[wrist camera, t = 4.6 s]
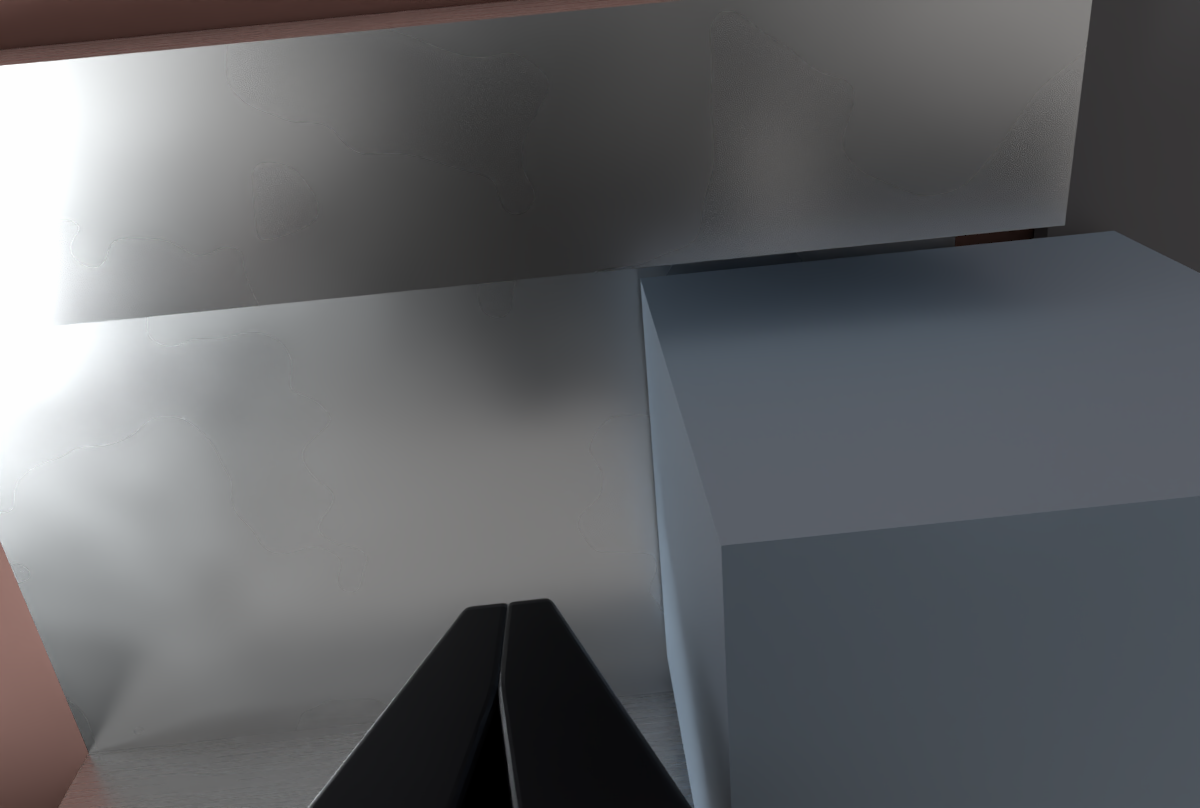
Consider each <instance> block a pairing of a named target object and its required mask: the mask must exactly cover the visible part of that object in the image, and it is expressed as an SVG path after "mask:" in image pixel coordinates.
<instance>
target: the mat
mask: <svg viewBox="0 0 1200 808" xmlns="http://www.w3.org/2000/svg"><path fill="white" fill-rule="evenodd" d="M1106 231H1116V232H1118V233H1120V234H1122V235H1124V236H1126V237H1128V238H1130V239H1132V240H1134V241H1136V242H1138V243H1140V244H1142V245H1144V246H1146V247H1148V248H1150V249H1152V250H1154V251H1156V252H1158V253H1160V254H1162V255H1164V256H1166V257H1168V258H1170V259H1172V260H1174V261H1176V262H1179V263H1181V264H1183V265H1185V266H1187V267H1189V268H1191V269H1193V270H1195V271H1197V272H1199V273H1200V0H1092V6H1091V14H1090V23H1089V31H1088V39H1087V47H1086V55H1085V63H1084V72H1083V80H1082V88H1081V96H1080V104H1079V112H1078V121H1077V129H1076V137H1075V145H1074V153H1073V161H1072V170H1071V178H1070V186H1069V194H1068V202H1067V210H1066V219H1065V225H1062V226H1052V227H1042V228H1035V230H1034V239H1037V238H1047V237H1057V236H1067V235H1076V234H1086V233H1096V232H1106Z"/></svg>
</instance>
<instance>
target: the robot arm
mask: <svg viewBox="0 0 1200 808" xmlns="http://www.w3.org/2000/svg"><path fill="white" fill-rule="evenodd" d="M308 808H692V807H691V806H690V804H689V803H688V801H687V800H686V798H685V797H684V795H683V794H682V792H681V791H680V789H679V788H678V786H677V785H676V783H675V782H674V780H673V779H672V778H671V776H670V775H669V773H668V772H667V770H666V769H665V767H664V766H663V764H662V763H661V761H660V760H659V758H658V757H657V755H656V754H655V752H654V751H653V749H652V748H651V746H650V745H649V743H648V742H647V740H646V739H645V737H644V736H643V734H642V733H641V731H640V730H639V728H638V727H637V725H636V724H635V722H634V721H633V719H632V718H631V716H630V715H629V714H628V712H627V711H626V709H625V708H624V706H623V705H622V703H621V702H620V700H619V699H618V697H617V696H616V694H615V693H614V691H613V690H612V688H611V687H610V685H609V684H608V682H607V681H606V679H605V678H604V676H603V675H602V673H601V672H600V670H599V669H598V667H597V666H596V664H595V663H594V661H593V660H592V658H591V657H590V655H589V654H588V653H587V651H586V650H585V648H584V647H583V645H582V644H581V642H580V641H579V639H578V638H577V636H576V635H575V633H574V632H573V630H572V629H571V627H570V626H569V624H568V623H567V621H566V620H565V618H564V617H563V615H562V614H561V612H560V611H559V609H558V608H557V606H556V605H555V604H554V602H553V601H552V600H550V599H548V598H541V599H532V600H523V601H514V602H511V603H510V604H507V603H496V604H487V605H478V606H470V607H467V608H465V609H464V610H463V611H462V612H461V613H460V614H459V616H458V617H457V618H456V619H455V621H454V622H453V623H452V625H451V626H450V627H449V628H448V630H447V631H446V632H445V633H444V635H443V636H442V637H441V639H440V640H439V641H438V642H437V644H436V645H435V646H434V647H433V649H432V650H431V651H430V653H429V654H428V655H427V656H426V658H425V659H424V660H423V661H422V663H421V664H420V665H419V667H418V668H417V669H416V670H415V672H414V673H413V674H412V675H411V677H410V678H409V679H408V681H407V682H406V683H405V684H404V686H403V687H402V688H401V689H400V691H399V692H398V693H397V694H396V696H395V697H394V698H393V700H392V701H391V702H390V703H389V705H388V706H387V707H386V708H385V710H384V711H383V712H382V714H381V715H380V716H379V717H378V719H377V720H376V721H375V722H374V724H373V725H372V726H371V728H370V729H369V730H368V731H367V733H366V734H365V735H364V736H363V738H362V739H361V740H360V742H359V743H358V744H357V745H356V747H355V748H354V749H353V750H352V752H351V753H350V754H349V756H348V757H347V758H346V759H345V761H344V762H343V763H342V764H341V766H340V767H339V768H338V769H337V771H336V772H335V773H334V775H333V776H332V777H331V778H330V780H329V781H328V782H327V783H326V785H325V786H324V787H323V789H322V790H321V791H320V792H319V794H318V795H317V796H316V797H315V799H314V800H313V801H312V803H311V804H310V805H309V806H308Z"/></svg>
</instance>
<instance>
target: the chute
mask: <svg viewBox="0 0 1200 808" xmlns="http://www.w3.org/2000/svg"><path fill="white" fill-rule="evenodd" d="M1091 6H1092V0H513V1H503V2H493V3H482V4H472V5H461V6H451V7H441V8H430V9H420V10H409V11H399V12H389V13H378V14H368V15H357V16H347V17H336V18H326V19H316V20H305V21H295V22H284V23H274V24H264V25H253V26H243V27H232V28H222V29H212V30H201V31H191V32H180V33H170V34H159V35H149V36H139V37H128V38H118V39H107V40H97V41H87V42H76V43H66V44H55V45H45V46H35V47H24V48H14V49H3V50H0V542H1V544H2V546H3V549H4V551H5V554H6V556H7V558H8V561H9V563H10V566H11V568H12V570H13V573H14V575H15V577H16V580H17V582H18V585H19V587H20V589H21V592H22V594H23V597H24V599H25V601H26V604H27V606H28V609H29V611H30V613H31V616H32V618H33V621H34V623H35V625H36V628H37V630H38V632H39V635H40V637H41V640H42V642H43V644H44V647H45V649H46V652H47V654H48V656H49V659H50V661H51V664H52V666H53V668H54V671H55V673H56V675H57V678H58V680H59V683H60V685H61V687H62V690H63V692H64V695H65V697H66V699H67V702H68V704H69V707H70V709H71V711H72V714H73V716H74V719H75V721H76V723H77V726H78V728H79V730H80V733H81V735H82V738H83V740H84V742H85V745H86V747H87V750H88V752H89V753H88V755H87V757H86V759H85V761H84V762H83V764H82V766H81V768H80V769H79V771H78V773H77V775H76V777H75V778H74V780H73V782H72V784H71V786H70V787H69V789H68V791H67V793H66V794H65V796H64V798H63V800H62V802H61V803H60V805H59V807H58V808H308V806H309V805H310V804H311V803H312V801H313V800H314V799H315V797H316V796H317V795H318V794H319V792H320V791H321V790H322V789H323V787H324V786H325V785H326V783H327V782H328V781H329V780H330V778H331V777H332V776H333V775H334V773H335V772H336V771H337V769H338V768H339V767H340V766H341V764H342V763H343V762H344V761H345V759H346V758H347V757H348V756H349V754H350V753H351V752H352V750H353V749H354V748H355V747H356V745H357V744H358V743H359V742H360V740H361V739H362V738H363V736H364V735H365V734H366V733H367V731H368V730H369V729H370V728H371V726H372V725H373V724H374V722H375V721H376V720H377V719H378V717H379V716H380V715H381V714H382V712H383V711H384V710H385V708H386V707H387V706H388V705H389V703H390V702H391V701H392V700H393V698H394V697H395V696H396V694H397V693H398V692H399V691H400V689H401V688H402V687H403V686H404V684H405V683H406V682H407V681H408V679H409V678H410V677H411V675H412V674H413V673H414V672H415V670H416V669H417V668H418V667H419V665H420V664H421V663H422V661H423V660H424V659H425V658H426V656H427V655H428V654H429V653H430V651H431V650H432V649H433V647H434V646H435V645H436V644H437V642H438V641H439V640H440V639H441V637H442V636H443V635H444V633H445V632H446V631H447V630H448V628H449V627H450V626H451V625H452V623H453V622H454V621H455V619H456V618H457V617H458V616H459V614H460V613H461V612H462V611H463V610H464V609H465V608H467V607H470V606H478V605H487V604H496V603H507V604H510V603H511V602H514V601H523V600H532V599H541V598H548V599H550V600H552V601H553V602H554V604H555V605H556V606H557V608H558V609H559V611H560V612H561V614H562V615H563V617H564V618H565V620H566V621H567V623H568V624H569V626H570V627H571V629H572V630H573V632H574V633H575V635H576V636H577V638H578V639H579V641H580V642H581V644H582V645H583V647H584V648H585V650H586V651H587V653H588V654H589V655H590V657H591V658H592V660H593V661H594V663H595V664H596V666H597V667H598V669H599V670H600V672H601V673H602V675H603V676H604V678H605V679H606V681H607V682H608V684H609V685H610V687H611V688H612V690H613V691H614V693H615V694H616V696H617V697H618V699H619V700H620V702H621V703H622V705H623V706H624V708H625V709H626V711H627V712H628V714H629V715H630V716H631V718H632V719H633V721H634V722H635V724H636V725H637V727H638V728H639V730H640V731H641V733H642V734H643V736H644V737H645V739H646V740H647V742H648V743H649V745H650V746H651V748H652V749H653V751H654V752H655V754H656V755H657V757H658V758H659V760H660V761H661V763H662V764H663V766H664V767H665V769H666V770H667V772H668V773H669V775H670V776H671V778H672V779H673V780H674V782H675V783H676V785H677V786H678V788H679V789H680V791H681V792H682V794H683V795H684V797H685V798H686V800H687V801H688V803H689V804H690V806H691V807H692V808H694V803H693V798H692V792H691V787H690V781H689V776H688V770H687V764H686V759H685V753H684V748H683V742H682V737H681V731H680V725H679V720H678V714H677V709H676V703H675V697H674V692H673V686H672V681H671V675H670V670H669V664H668V658H667V648H666V634H665V620H664V606H663V592H662V577H661V563H660V549H659V535H658V521H657V507H656V493H655V479H654V465H653V451H652V437H651V423H650V409H649V395H648V381H647V367H646V353H645V339H644V324H643V310H642V296H641V282H640V278H647V277H657V276H667V275H677V274H687V273H697V272H707V271H717V270H727V269H737V268H747V267H757V266H767V265H777V264H787V263H797V262H807V261H817V260H827V259H837V258H847V257H857V256H867V255H877V254H887V253H897V252H907V251H917V250H927V249H937V248H947V247H955V238H956V236H962V235H972V234H982V233H992V232H1002V231H1012V230H1022V229H1032V228H1042V227H1052V226H1062V225H1065V219H1066V210H1067V202H1068V194H1069V186H1070V178H1071V170H1072V161H1073V153H1074V145H1075V137H1076V129H1077V121H1078V112H1079V104H1080V96H1081V88H1082V80H1083V72H1084V63H1085V55H1086V47H1087V39H1088V31H1089V23H1090V14H1091Z"/></svg>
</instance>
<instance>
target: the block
mask: <svg viewBox="0 0 1200 808" xmlns="http://www.w3.org/2000/svg"><path fill="white" fill-rule="evenodd" d="M640 282H641V296H642V310H643V324H644V339H645V353H646V367H647V381H648V395H649V409H650V423H651V437H652V451H653V465H654V479H655V493H656V507H657V521H658V535H659V549H660V563H661V577H662V592H663V606H664V620H665V634H666V648H667V658H668V664H669V670H670V675H671V681H672V686H673V692H674V697H675V703H676V709H677V714H678V720H679V725H680V731H681V737H682V742H683V748H684V753H685V759H686V764H687V770H688V776H689V781H690V787H691V792H692V798H693V803H694V808H1200V273H1199V272H1197V271H1195V270H1193V269H1191V268H1189V267H1187V266H1185V265H1183V264H1181V263H1179V262H1176V261H1174V260H1172V259H1170V258H1168V257H1166V256H1164V255H1162V254H1160V253H1158V252H1156V251H1154V250H1152V249H1150V248H1148V247H1146V246H1144V245H1142V244H1140V243H1138V242H1136V241H1134V240H1132V239H1130V238H1128V237H1126V236H1124V235H1122V234H1120V233H1118V232H1116V231H1106V232H1096V233H1086V234H1076V235H1067V236H1057V237H1047V238H1037V239H1027V240H1017V241H1007V242H997V243H987V244H977V245H967V246H957V247H947V248H937V249H927V250H917V251H907V252H897V253H887V254H877V255H867V256H857V257H847V258H837V259H827V260H817V261H807V262H797V263H787V264H777V265H767V266H757V267H747V268H737V269H727V270H717V271H707V272H697V273H687V274H677V275H667V276H657V277H647V278H640Z"/></svg>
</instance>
